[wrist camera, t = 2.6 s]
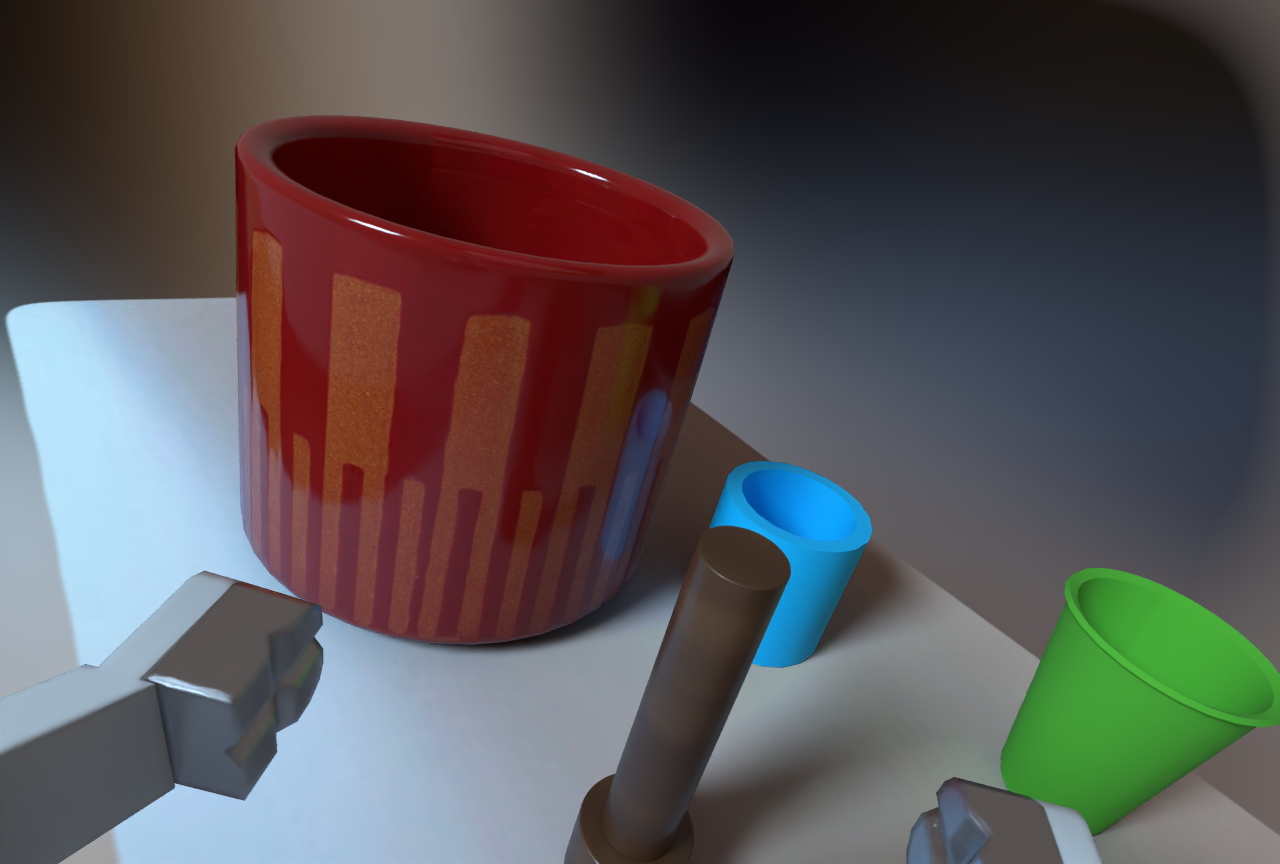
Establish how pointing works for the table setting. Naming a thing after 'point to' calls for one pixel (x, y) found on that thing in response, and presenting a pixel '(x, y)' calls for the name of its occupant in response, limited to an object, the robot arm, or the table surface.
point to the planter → (458, 371)
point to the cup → (1132, 697)
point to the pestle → (684, 703)
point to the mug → (797, 547)
